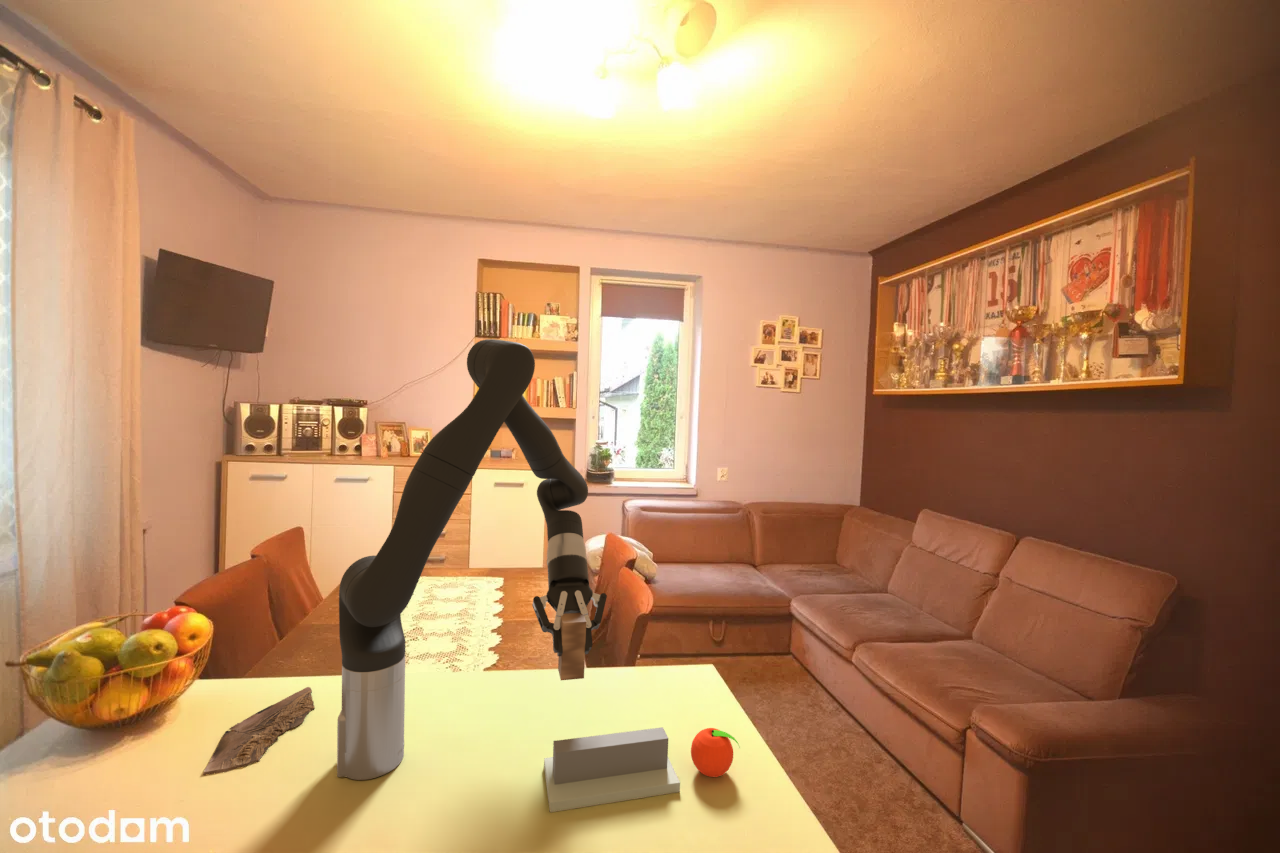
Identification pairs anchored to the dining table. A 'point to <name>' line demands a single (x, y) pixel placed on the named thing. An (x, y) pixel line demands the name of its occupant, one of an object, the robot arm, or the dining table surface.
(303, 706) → the wooden fragment
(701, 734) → the clementine
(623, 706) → the dining table surface
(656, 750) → the ridge stand
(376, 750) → the robot arm
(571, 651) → the walnut post
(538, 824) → the dining table surface
